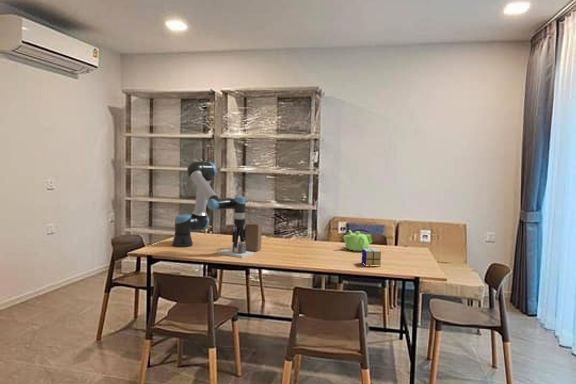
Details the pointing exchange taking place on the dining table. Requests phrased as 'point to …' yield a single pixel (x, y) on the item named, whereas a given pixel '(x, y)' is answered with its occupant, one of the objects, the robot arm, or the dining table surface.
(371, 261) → the puzzle cube
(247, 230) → the wooden block
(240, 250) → the sanding block
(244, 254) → the board
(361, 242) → the teapot
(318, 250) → the dining table surface
